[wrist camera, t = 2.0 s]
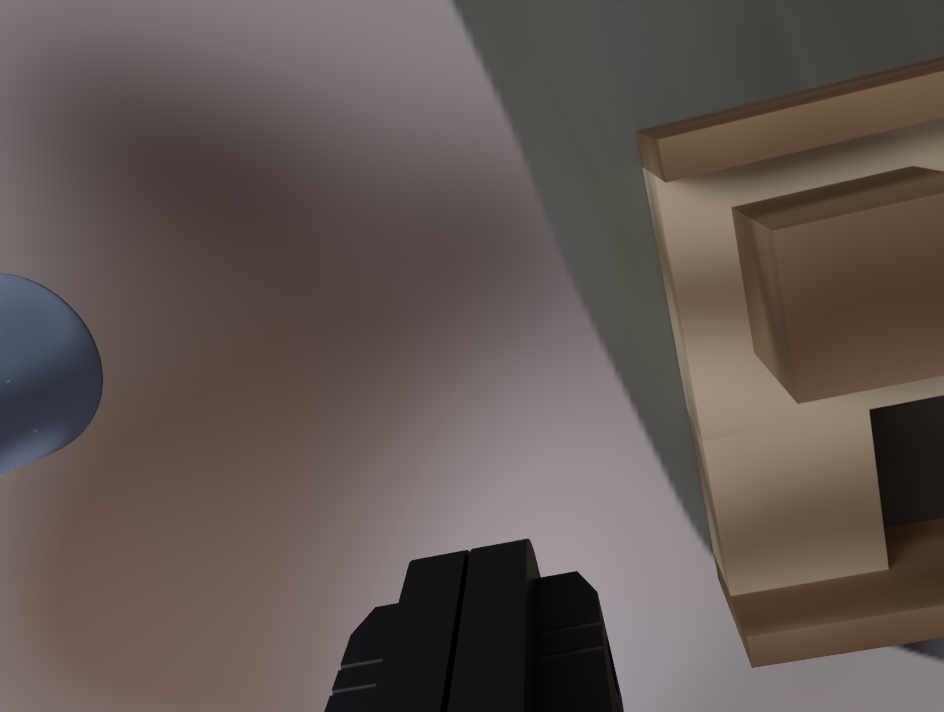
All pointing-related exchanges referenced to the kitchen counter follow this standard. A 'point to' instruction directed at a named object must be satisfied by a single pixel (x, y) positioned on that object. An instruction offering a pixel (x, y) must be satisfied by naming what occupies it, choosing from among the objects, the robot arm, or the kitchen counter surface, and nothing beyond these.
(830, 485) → the trap tray
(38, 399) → the blue flashlight
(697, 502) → the kitchen counter surface
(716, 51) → the kitchen counter surface
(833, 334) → the block
